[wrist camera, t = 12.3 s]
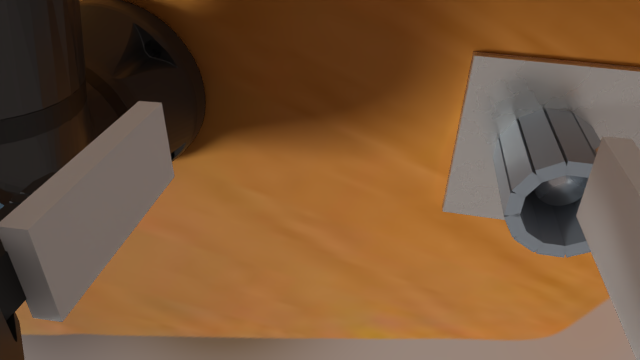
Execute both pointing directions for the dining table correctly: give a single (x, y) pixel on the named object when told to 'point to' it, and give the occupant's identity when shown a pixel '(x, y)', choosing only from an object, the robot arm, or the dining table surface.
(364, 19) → the dining table surface
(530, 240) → the sleeve
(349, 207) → the dining table surface
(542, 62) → the square plate
